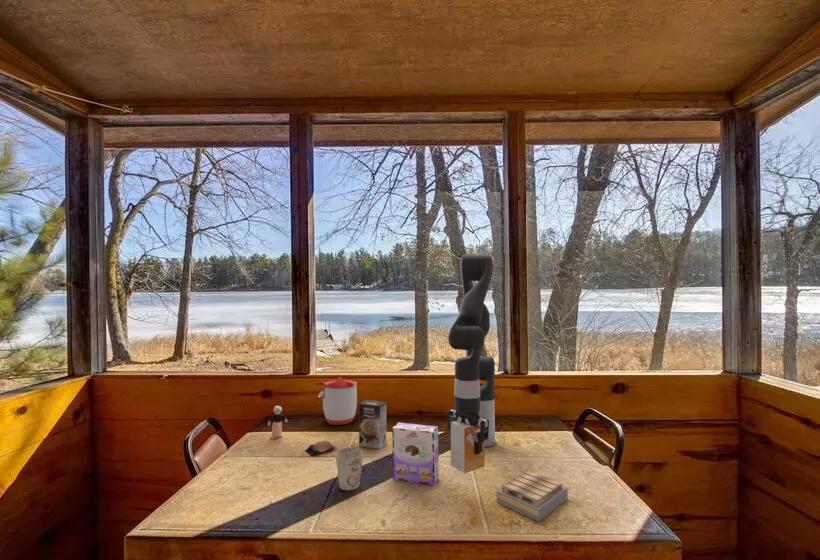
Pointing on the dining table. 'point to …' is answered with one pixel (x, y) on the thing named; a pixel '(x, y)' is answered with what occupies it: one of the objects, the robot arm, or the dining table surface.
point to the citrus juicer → (339, 401)
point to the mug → (349, 467)
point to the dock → (526, 506)
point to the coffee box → (372, 424)
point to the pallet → (532, 487)
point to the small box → (465, 448)
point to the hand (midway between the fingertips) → (467, 449)
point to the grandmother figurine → (277, 422)
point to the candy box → (415, 453)
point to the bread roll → (320, 448)
